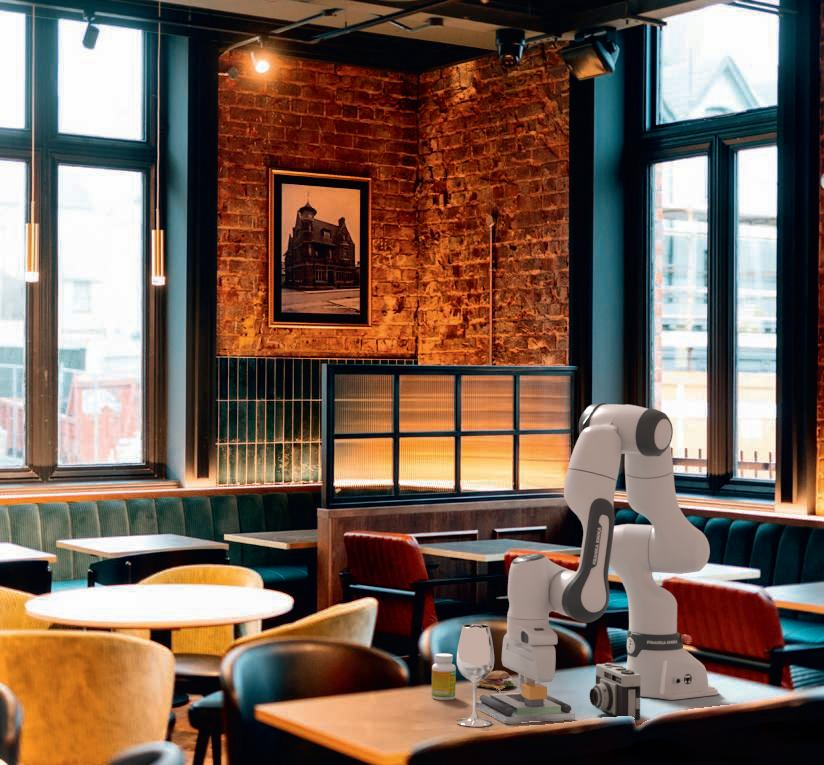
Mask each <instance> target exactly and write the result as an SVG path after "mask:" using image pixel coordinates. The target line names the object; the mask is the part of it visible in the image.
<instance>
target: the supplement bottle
mask: <svg viewBox="0 0 824 765" xmlns="http://www.w3.org/2000/svg"><path fill="white" fill-rule="evenodd" d="M453 658H454V655H453V654H451V653H435V656H434V660H435V663H434V664H432V666H431V694H430V695H431V698H432V699H434V700H437V701H450V700H451V701H452V700H454V699H455V698H456V685H457V684H456V682H457V681H456V678H457V676H456V675H457V671H456V670H457V669H456V668H457V666H456V665H455V664H453V663H452V662H453V661H454V659H453Z"/></svg>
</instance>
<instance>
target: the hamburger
mask: <svg viewBox="0 0 824 765" xmlns="http://www.w3.org/2000/svg"><path fill="white" fill-rule="evenodd" d="M515 685H516V686H517V684H516V683H515V682H513V677H512V676H511V675H510V674H509V672H506V671H505V670H492V671H491V673H490V674H489V675H488V676H487V677H486V678H484V679H483V680H481V681H479V682H478V685H477V686H479V687H480V686H481V687H480V688H482V687H486V688H485V689H488V688H496V689H495V690H497V688H498V689H501V690H504V689H505V688H504V687H506V688H508V687H514V686H515ZM507 686H508V687H507Z"/></svg>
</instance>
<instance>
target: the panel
mask: <svg viewBox="0 0 824 765" xmlns="http://www.w3.org/2000/svg"><path fill="white" fill-rule="evenodd" d="M489 697H490V698H492V699H494V700H496V701H498V702H500V703H502V704H503V705H505V706H507V707H509V708H511V709H512V710H513V714H512V715H511V716H508V715H506V714H504V713H502V712H500V711H498V710H496V709H495V708H493V707H491V706H489V705H487V704H485V703H483V702H481V701H480V700H479V701H478V700H476V708H477V709H476V710H478V709H479V710H478V711H480V710H481V711H480V712H482V713H483V712H484V713H483V714H485V713H487V714H489V715H490V716H489V715H488V716H489V717H491V716H492V717H491V718H493V717H494V718H496V719H498V720H500V721H502V722H504V723H521V722H529V721H553V722H565V721H564V720H569V721H575V720H576V713H575V711H572V710H571V711H570V712H565V711H563V710H561V706H560V705H558V704H556V703H554V702H552V701H549V700H547V699H544V706H530V707H528V706H526V705H525V697H523V696H522V694H521V693H516V692H509V693H507V692H506V693H493V694H492V693H490V694H489ZM487 714H486V715H487ZM494 718H493V719H494ZM496 719H495V720H496ZM498 720H497V721H498ZM500 721H499V722H500ZM502 722H501V723H502ZM504 723H503V724H504ZM521 724H522V723H521Z"/></svg>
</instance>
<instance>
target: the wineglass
mask: <svg viewBox="0 0 824 765" xmlns="http://www.w3.org/2000/svg"><path fill="white" fill-rule="evenodd" d="M461 628H462V629H461V630H460V631H461V632H460V635H459V636H460V637H459V641H458V646H457V649H456V650H457V652H456V667H457V669H458V671H459V673H460V675H461V676H463V677H464V678H465V679H466V680H469V681H471V684H472V713H471V715H470V716H469V717H462V718H458V719H456V721H455V723H456V724H458V725H460V726H462V727H468V726H470V727H469V728H485V727H489V726H491V725H493V720H491V719H488V718H485V717H484V718H483V717H480V716H478V713H477V709H476V701H477V691H478V689H477V688H478V686H479V685H478V682H479V681H481V680H483V679H484V678H486V677H487V676H488V675H489V674H490V673H491V672H492V671H493V669H494V665H495V653H494V652H495V651H494V644H493V639H492V633H491V628H490V626H489V625H487V624H479V623H476V624H475V623H469V624H464V625H462V627H461ZM484 726H485V727H484Z"/></svg>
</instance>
